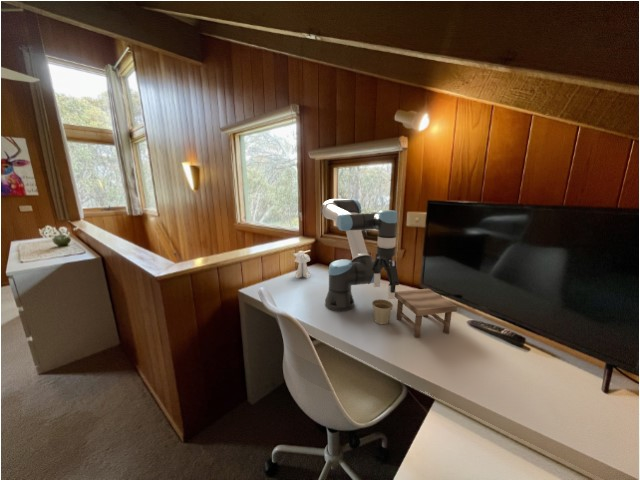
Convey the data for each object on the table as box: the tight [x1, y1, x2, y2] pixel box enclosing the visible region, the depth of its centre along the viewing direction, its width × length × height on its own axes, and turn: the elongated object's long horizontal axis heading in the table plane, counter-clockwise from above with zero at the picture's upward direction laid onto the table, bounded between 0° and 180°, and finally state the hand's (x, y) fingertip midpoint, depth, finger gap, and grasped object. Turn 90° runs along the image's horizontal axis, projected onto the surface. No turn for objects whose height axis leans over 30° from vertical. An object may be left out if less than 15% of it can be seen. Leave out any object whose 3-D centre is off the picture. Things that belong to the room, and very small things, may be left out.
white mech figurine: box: [292, 249, 311, 279], centre depth 169 cm, size 12×13×18 cm
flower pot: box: [371, 298, 394, 325], centre depth 112 cm, size 9×9×9 cm
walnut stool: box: [395, 288, 458, 339], centre depth 108 cm, size 18×18×13 cm
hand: (383, 292), depth 110 cm, fingers open, 13 cm apart
